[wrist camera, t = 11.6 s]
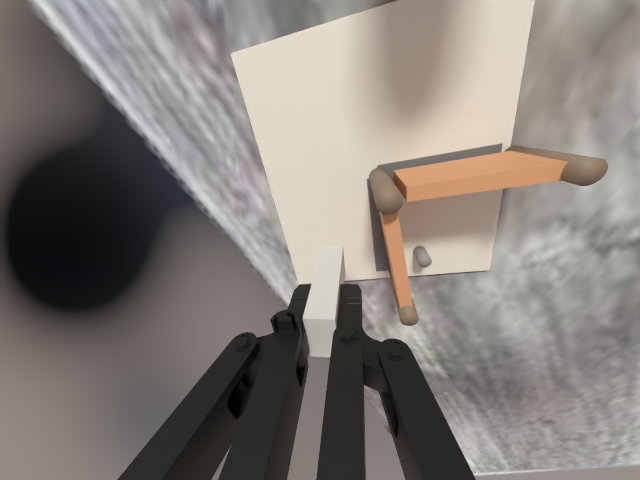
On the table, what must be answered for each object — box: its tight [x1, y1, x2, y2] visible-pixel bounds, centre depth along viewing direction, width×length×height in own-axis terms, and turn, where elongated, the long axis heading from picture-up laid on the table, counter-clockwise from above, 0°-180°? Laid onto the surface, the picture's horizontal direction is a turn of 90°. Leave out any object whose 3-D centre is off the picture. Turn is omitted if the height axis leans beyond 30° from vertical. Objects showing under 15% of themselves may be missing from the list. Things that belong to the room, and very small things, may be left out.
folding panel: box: [379, 212, 419, 326], centre depth 19 cm, size 10×1×7 cm, turn 17°
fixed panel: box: [369, 146, 608, 215], centre depth 16 cm, size 12×2×7 cm, turn 101°
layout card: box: [231, 0, 535, 284], centre depth 19 cm, size 20×22×2 cm
